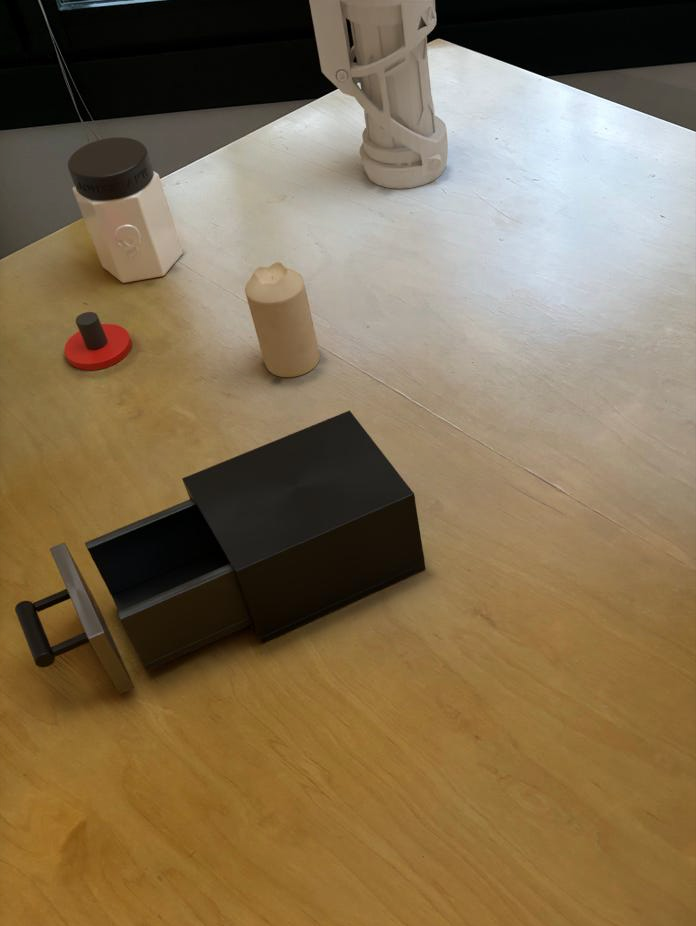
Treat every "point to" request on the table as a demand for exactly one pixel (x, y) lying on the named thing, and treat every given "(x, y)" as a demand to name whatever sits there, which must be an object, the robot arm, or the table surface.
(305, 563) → the cabinet
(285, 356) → the candle
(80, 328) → the lid
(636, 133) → the table surface
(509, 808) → the table surface
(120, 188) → the jar
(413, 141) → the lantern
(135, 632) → the drawer
